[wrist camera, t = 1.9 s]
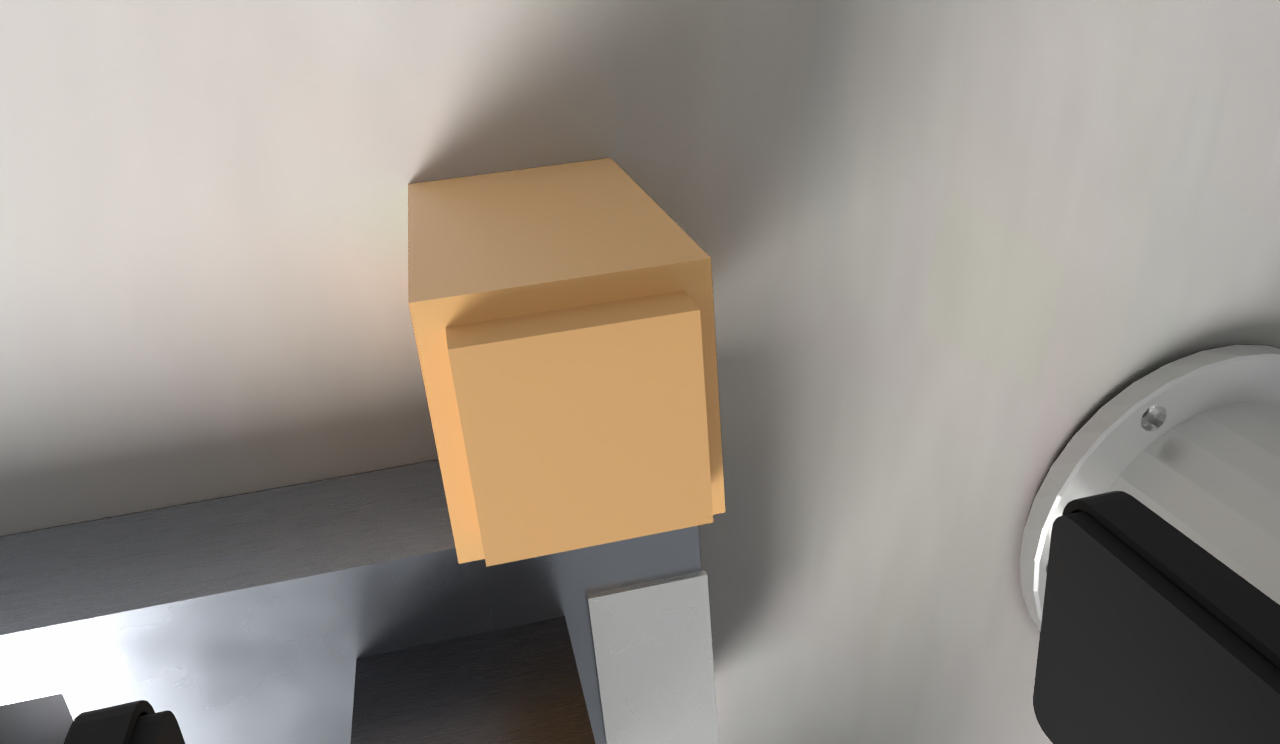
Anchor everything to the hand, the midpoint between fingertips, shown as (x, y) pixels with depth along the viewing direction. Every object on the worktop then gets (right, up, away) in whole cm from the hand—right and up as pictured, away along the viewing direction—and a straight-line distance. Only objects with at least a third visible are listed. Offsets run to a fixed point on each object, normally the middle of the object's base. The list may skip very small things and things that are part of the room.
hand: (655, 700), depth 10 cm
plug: (-3, +6, +15) cm, 16 cm away
